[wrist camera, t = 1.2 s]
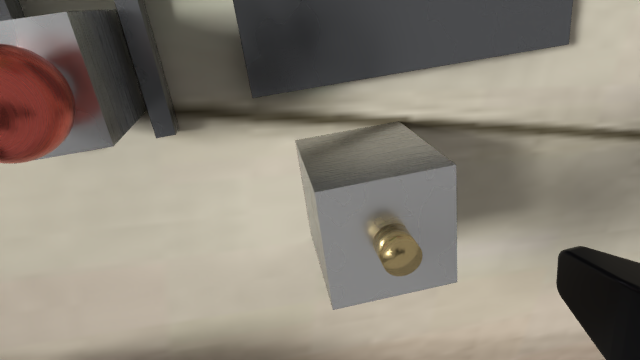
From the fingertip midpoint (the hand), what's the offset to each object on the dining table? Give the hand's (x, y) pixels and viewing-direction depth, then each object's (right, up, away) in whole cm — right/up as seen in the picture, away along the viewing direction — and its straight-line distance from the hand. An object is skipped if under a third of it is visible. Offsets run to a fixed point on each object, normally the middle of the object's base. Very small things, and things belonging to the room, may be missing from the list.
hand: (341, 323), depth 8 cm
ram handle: (-9, +7, +9) cm, 15 cm away
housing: (+1, +3, +13) cm, 13 cm away
